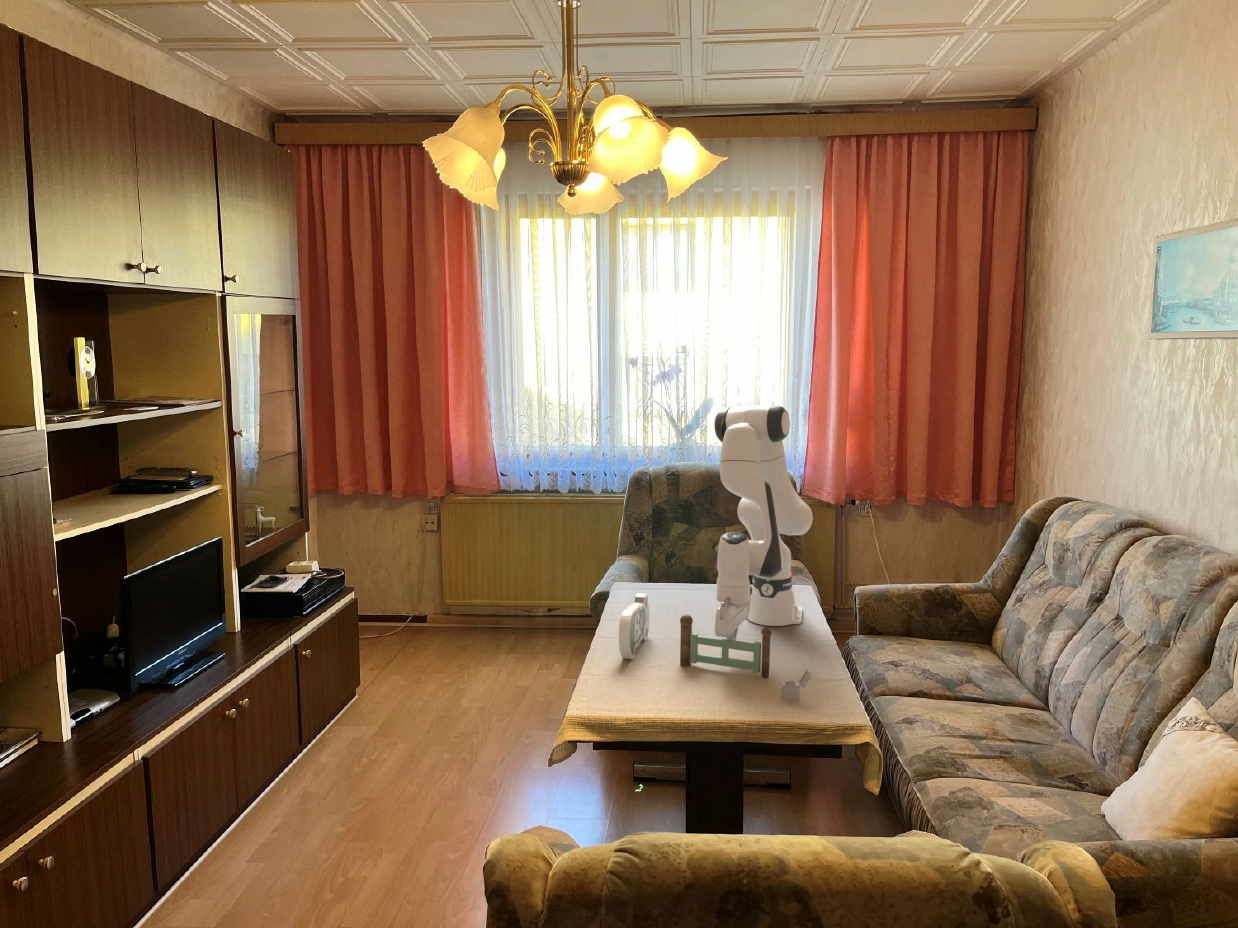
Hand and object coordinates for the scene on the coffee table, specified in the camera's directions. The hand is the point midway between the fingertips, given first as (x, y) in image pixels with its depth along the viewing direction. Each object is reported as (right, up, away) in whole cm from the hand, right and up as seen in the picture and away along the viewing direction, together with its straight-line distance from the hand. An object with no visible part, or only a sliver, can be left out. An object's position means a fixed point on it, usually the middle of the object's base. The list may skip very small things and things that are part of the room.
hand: (731, 643), depth 252 cm
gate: (-2, -5, -5) cm, 8 cm away
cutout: (-26, -4, +11) cm, 29 cm away
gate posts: (-2, -6, -5) cm, 8 cm away
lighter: (+13, -10, -24) cm, 29 cm away
